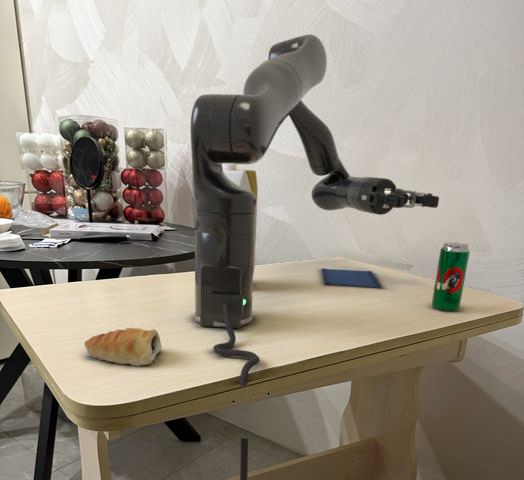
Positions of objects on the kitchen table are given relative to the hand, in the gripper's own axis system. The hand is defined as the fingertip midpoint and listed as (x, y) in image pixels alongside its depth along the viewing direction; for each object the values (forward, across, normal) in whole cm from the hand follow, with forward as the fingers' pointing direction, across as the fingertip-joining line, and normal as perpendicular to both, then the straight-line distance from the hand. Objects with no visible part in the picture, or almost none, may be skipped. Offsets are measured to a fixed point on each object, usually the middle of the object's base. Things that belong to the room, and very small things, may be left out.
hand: (420, 202), depth 101 cm
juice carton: (-16, -34, +18) cm, 41 cm away
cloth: (-16, -4, +18) cm, 25 cm away
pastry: (+19, -61, +18) cm, 66 cm away
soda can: (+11, 0, +18) cm, 22 cm away
